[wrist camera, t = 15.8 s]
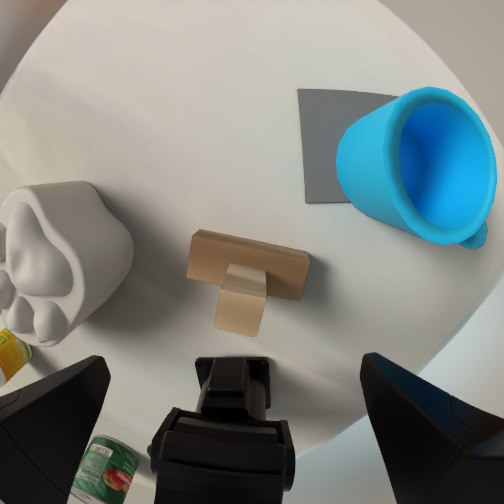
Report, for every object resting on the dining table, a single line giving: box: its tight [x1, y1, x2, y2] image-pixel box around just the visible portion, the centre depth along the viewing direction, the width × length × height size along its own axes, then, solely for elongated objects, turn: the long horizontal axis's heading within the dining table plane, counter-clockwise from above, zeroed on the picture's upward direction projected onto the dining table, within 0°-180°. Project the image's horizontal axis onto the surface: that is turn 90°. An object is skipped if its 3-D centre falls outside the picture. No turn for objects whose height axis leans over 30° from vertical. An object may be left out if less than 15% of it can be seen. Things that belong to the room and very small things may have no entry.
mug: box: [336, 87, 497, 249], centre depth 15 cm, size 12×8×8 cm
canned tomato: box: [70, 435, 140, 504], centre depth 24 cm, size 8×8×11 cm
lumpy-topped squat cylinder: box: [0, 181, 134, 347], centre depth 17 cm, size 10×13×9 cm
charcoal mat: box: [297, 89, 399, 203], centre depth 18 cm, size 8×13×1 cm, turn 94°
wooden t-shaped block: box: [186, 229, 311, 337], centre depth 18 cm, size 4×8×7 cm, turn 78°
